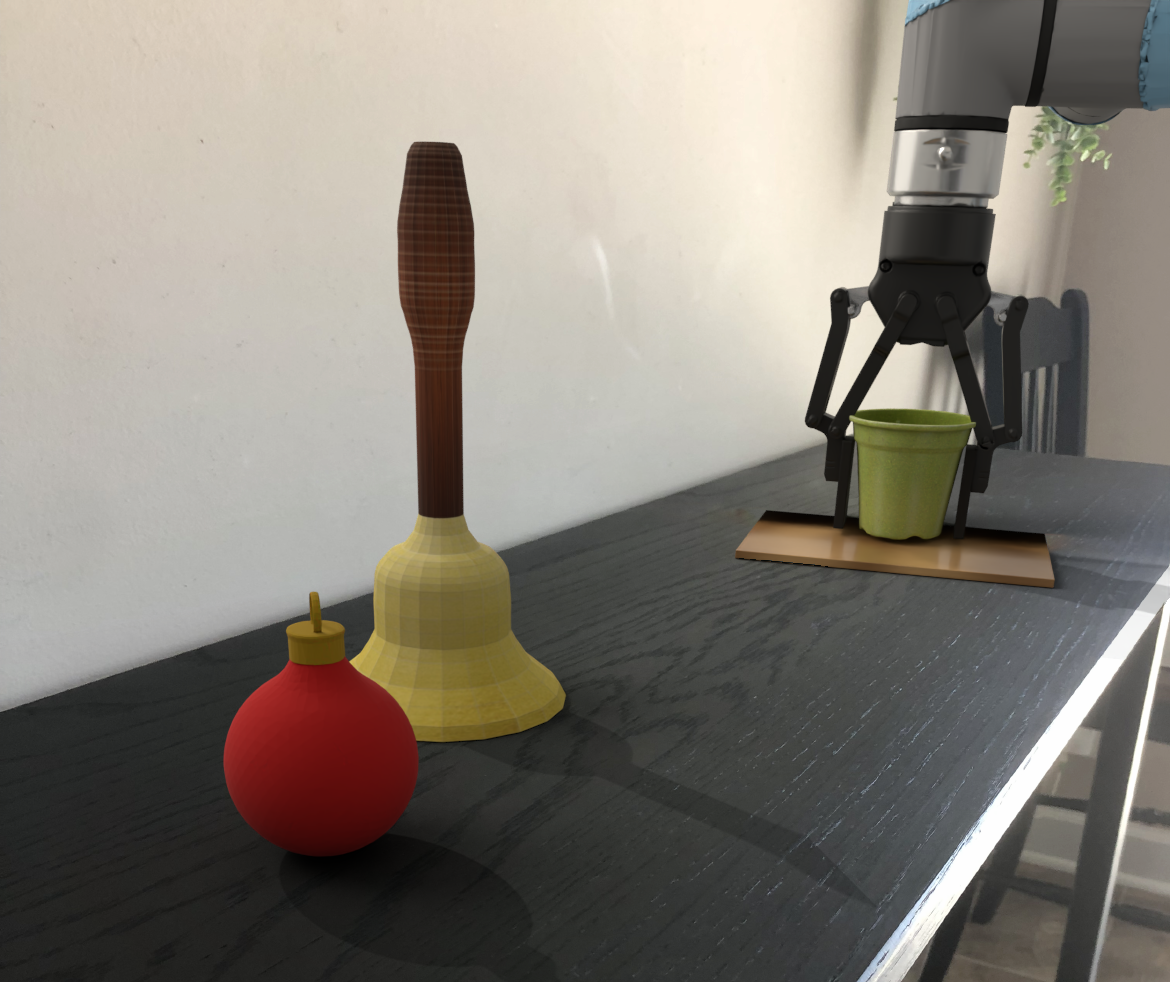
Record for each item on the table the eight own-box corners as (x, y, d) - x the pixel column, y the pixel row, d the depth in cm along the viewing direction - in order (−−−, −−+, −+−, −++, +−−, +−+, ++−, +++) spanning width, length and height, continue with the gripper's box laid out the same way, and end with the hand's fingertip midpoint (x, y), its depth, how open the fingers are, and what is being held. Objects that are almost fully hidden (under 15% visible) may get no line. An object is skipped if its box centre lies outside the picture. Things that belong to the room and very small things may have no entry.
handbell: (470, 643, 72) (465, 152, 62) (616, 704, 64) (639, 148, 53) (274, 687, 64) (232, 137, 54) (411, 763, 56) (391, 129, 46)
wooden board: (1041, 532, 102) (1043, 525, 102) (1053, 588, 86) (1054, 579, 86) (770, 509, 108) (771, 502, 107) (734, 558, 92) (735, 549, 92)
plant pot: (816, 534, 96) (828, 416, 92) (864, 514, 103) (877, 403, 99) (936, 553, 91) (954, 429, 87) (978, 530, 98) (995, 415, 95)
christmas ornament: (435, 879, 46) (429, 615, 42) (235, 901, 44) (209, 627, 40) (405, 799, 53) (397, 562, 48) (229, 816, 51) (205, 571, 47)
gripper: (781, 197, 87) (754, 527, 96) (1106, 206, 82) (1044, 553, 91) (795, 200, 93) (768, 508, 102) (1097, 208, 88) (1040, 531, 97)
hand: (898, 529), depth 97 cm, fingers closed on plant pot, 8 cm apart
